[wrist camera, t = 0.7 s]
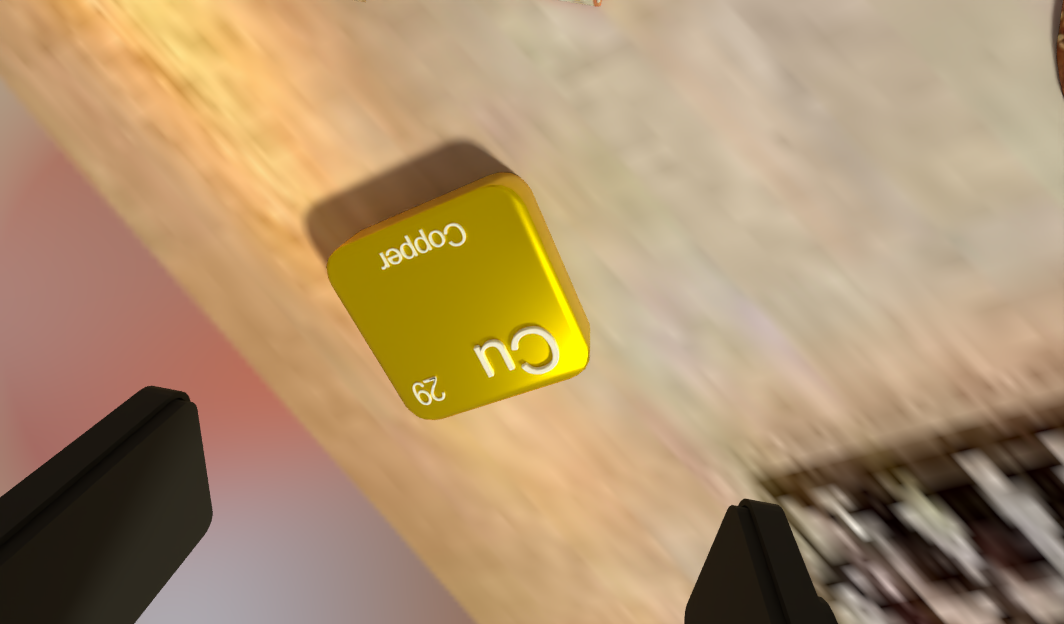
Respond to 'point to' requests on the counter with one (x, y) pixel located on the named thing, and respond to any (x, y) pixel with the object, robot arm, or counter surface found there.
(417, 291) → the element tile
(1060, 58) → the slice of bread
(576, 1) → the cracker box
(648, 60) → the counter surface
